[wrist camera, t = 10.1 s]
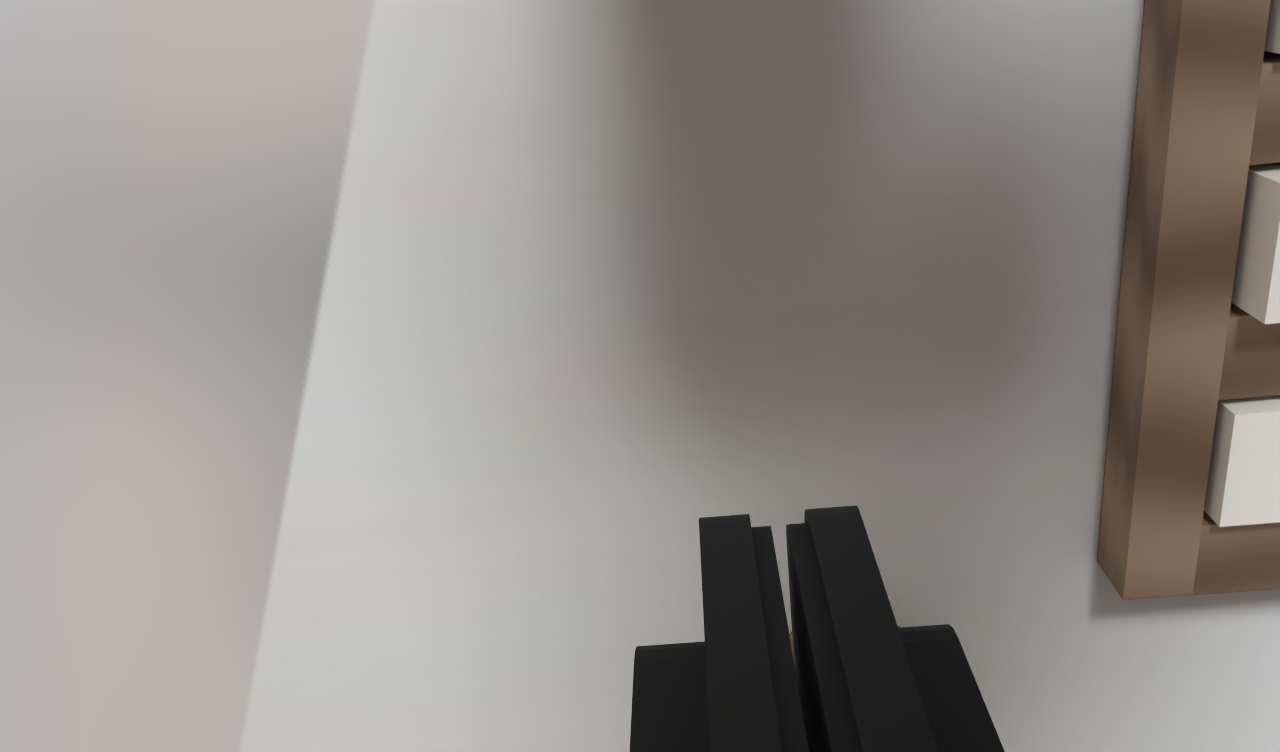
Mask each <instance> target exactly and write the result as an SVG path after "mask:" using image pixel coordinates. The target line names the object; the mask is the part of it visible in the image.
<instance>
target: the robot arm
mask: <svg viewBox="0 0 1280 752" xmlns="http://www.w3.org/2000/svg"><path fill="white" fill-rule="evenodd" d="M804 521H805V523H802V524H789V525H787V526H786V535H787V553H788V569H789V586H790V602H791V619H792V635H793V652H794V660H793V654H792V648H791V642H790V636H789V630H788V625H787V619H786V613H785V607H784V601H783V595H782V589H781V583H780V578H779V572H778V566H777V560H776V554H775V548H774V542H773V536H772V530H771V526H763V527H751V523H750V516H749V514H743V515H731V516H718V517H706V518H699V530H700V550H701V570H702V591H703V611H704V631H705V642H693V643H679V644H665V645H651V646H637V647H636V650H635V659H634V677H633V697H632V717H631V737H630V752H1004V749H1003V747H1002V744H1001V742H1000V739H999V737H998V735H997V732H996V730H995V727H994V725H993V722H992V720H991V717H990V715H989V713H988V710H987V708H986V705H985V703H984V700H983V698H982V695H981V693H980V691H979V688H978V686H977V683H976V681H975V678H974V676H973V673H972V671H971V669H970V666H969V664H968V661H967V659H966V656H965V654H964V651H963V649H962V647H961V644H960V642H959V639H958V637H957V635H956V633H955V631H954V629H953V628H952V627H951V626H950V625H948V624H947V625H933V626H919V627H905V628H898V627H897V624H896V621H895V618H894V615H893V612H892V609H891V606H890V602H889V599H888V596H887V593H886V590H885V587H884V584H883V581H882V578H881V575H880V572H879V569H878V566H877V563H876V560H875V557H874V554H873V551H872V548H871V545H870V542H869V538H868V535H867V532H866V529H865V526H864V523H863V520H862V517H861V514H860V511H859V509H858V507H857V506H844V507H832V508H819V509H806V510H805V517H804Z"/></svg>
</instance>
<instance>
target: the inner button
mask: <svg viewBox="0 0 1280 752" xmlns="http://www.w3.org/2000/svg"><path fill="white" fill-rule="evenodd" d="M1264 51H1268V52H1273V53H1278V54H1280V0H1271V3H1270V11H1269V18H1268V26H1267V33H1266V41H1265V49H1264Z"/></svg>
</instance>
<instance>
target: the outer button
mask: <svg viewBox="0 0 1280 752" xmlns="http://www.w3.org/2000/svg"><path fill="white" fill-rule="evenodd" d="M1204 511H1205V512H1206V513H1207V514H1208V515H1209V516H1210V517H1211V518H1212V519H1213V521H1214V522H1215V523H1216V524H1217V525H1218V526H1219V527H1226V526H1239V525H1252V524H1265V523H1278V522H1280V395H1274V396H1262V397H1250V398H1238V399H1226V400H1218V406H1217V413H1216V421H1215V428H1214V436H1213V444H1212V451H1211V459H1210V466H1209V474H1208V482H1207V489H1206V497H1205V504H1204Z"/></svg>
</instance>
